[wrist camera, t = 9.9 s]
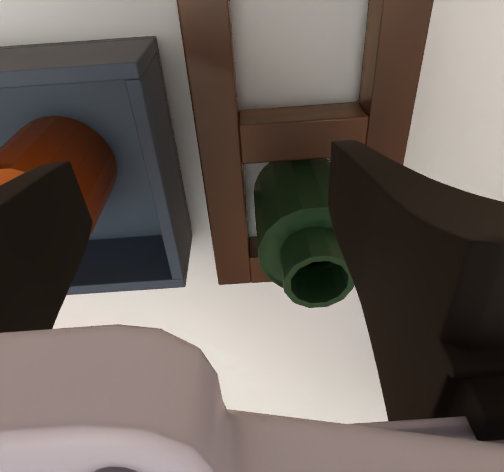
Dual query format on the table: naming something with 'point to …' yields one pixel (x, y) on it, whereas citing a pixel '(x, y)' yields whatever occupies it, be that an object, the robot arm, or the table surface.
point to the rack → (290, 115)
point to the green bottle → (299, 233)
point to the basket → (122, 146)
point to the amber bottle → (63, 156)
